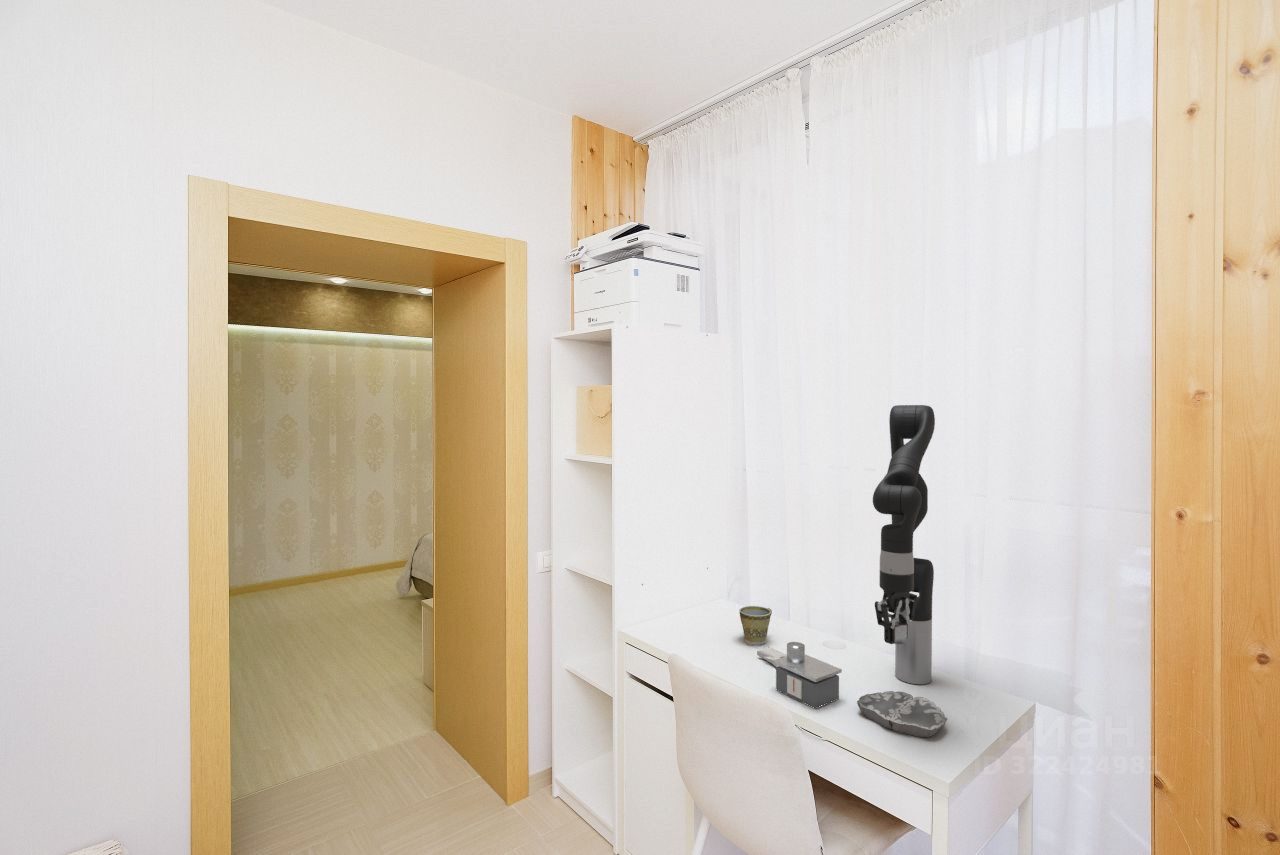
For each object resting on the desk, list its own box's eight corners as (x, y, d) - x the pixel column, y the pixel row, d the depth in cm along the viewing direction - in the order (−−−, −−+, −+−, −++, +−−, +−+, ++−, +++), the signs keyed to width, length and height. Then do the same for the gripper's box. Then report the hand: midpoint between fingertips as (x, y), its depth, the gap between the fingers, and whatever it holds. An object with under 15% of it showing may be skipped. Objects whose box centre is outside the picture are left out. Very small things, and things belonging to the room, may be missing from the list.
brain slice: (957, 720, 150) (957, 707, 149) (933, 748, 137) (933, 735, 137) (876, 694, 163) (877, 683, 163) (848, 718, 151) (848, 706, 150)
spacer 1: (786, 656, 169) (786, 641, 168) (804, 657, 168) (804, 642, 168) (787, 662, 164) (787, 647, 164) (805, 664, 163) (805, 648, 163)
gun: (748, 650, 184) (770, 642, 190) (748, 661, 184) (770, 653, 191) (800, 673, 170) (821, 664, 176) (799, 685, 170) (821, 676, 177)
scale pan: (773, 663, 166) (773, 660, 166) (799, 654, 171) (799, 651, 171) (815, 682, 154) (815, 679, 154) (841, 672, 160) (841, 669, 160)
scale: (774, 690, 165) (774, 667, 165) (799, 680, 171) (799, 659, 171) (813, 709, 155) (813, 685, 154) (838, 698, 160) (839, 675, 160)
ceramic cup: (756, 650, 193) (756, 618, 192) (732, 640, 200) (732, 610, 200) (783, 640, 201) (783, 609, 201) (759, 631, 209) (759, 601, 208)
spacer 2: (883, 636, 151) (884, 620, 151) (904, 637, 150) (904, 621, 150) (887, 643, 146) (888, 626, 146) (908, 645, 145) (908, 628, 145)
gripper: (892, 577, 140) (892, 652, 141) (928, 568, 149) (927, 639, 149) (864, 570, 147) (863, 642, 147) (899, 561, 155) (899, 630, 155)
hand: (896, 640), depth 148 cm, fingers closed on spacer 2, 4 cm apart
